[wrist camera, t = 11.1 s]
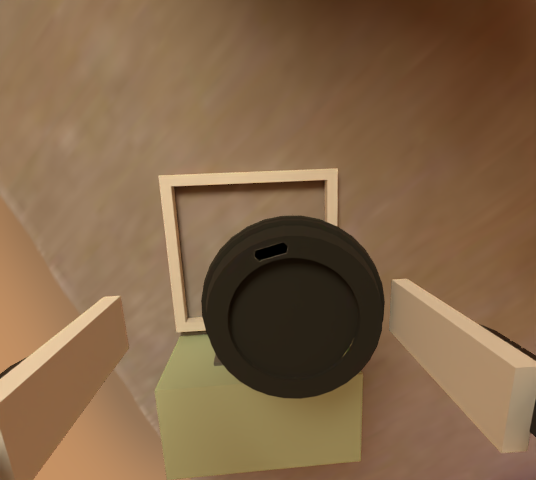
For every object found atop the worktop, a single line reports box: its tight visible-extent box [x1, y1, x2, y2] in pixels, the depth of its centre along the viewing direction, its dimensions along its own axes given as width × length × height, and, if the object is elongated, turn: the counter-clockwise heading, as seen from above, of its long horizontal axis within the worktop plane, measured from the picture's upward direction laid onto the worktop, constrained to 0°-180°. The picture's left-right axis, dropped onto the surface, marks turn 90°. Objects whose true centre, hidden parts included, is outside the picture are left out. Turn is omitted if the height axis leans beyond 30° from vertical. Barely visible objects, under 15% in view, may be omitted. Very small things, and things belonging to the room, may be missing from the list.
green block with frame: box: [155, 168, 363, 480], centre depth 25 cm, size 25×16×8 cm, turn 2°
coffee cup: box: [201, 216, 384, 399], centre depth 21 cm, size 10×10×15 cm
